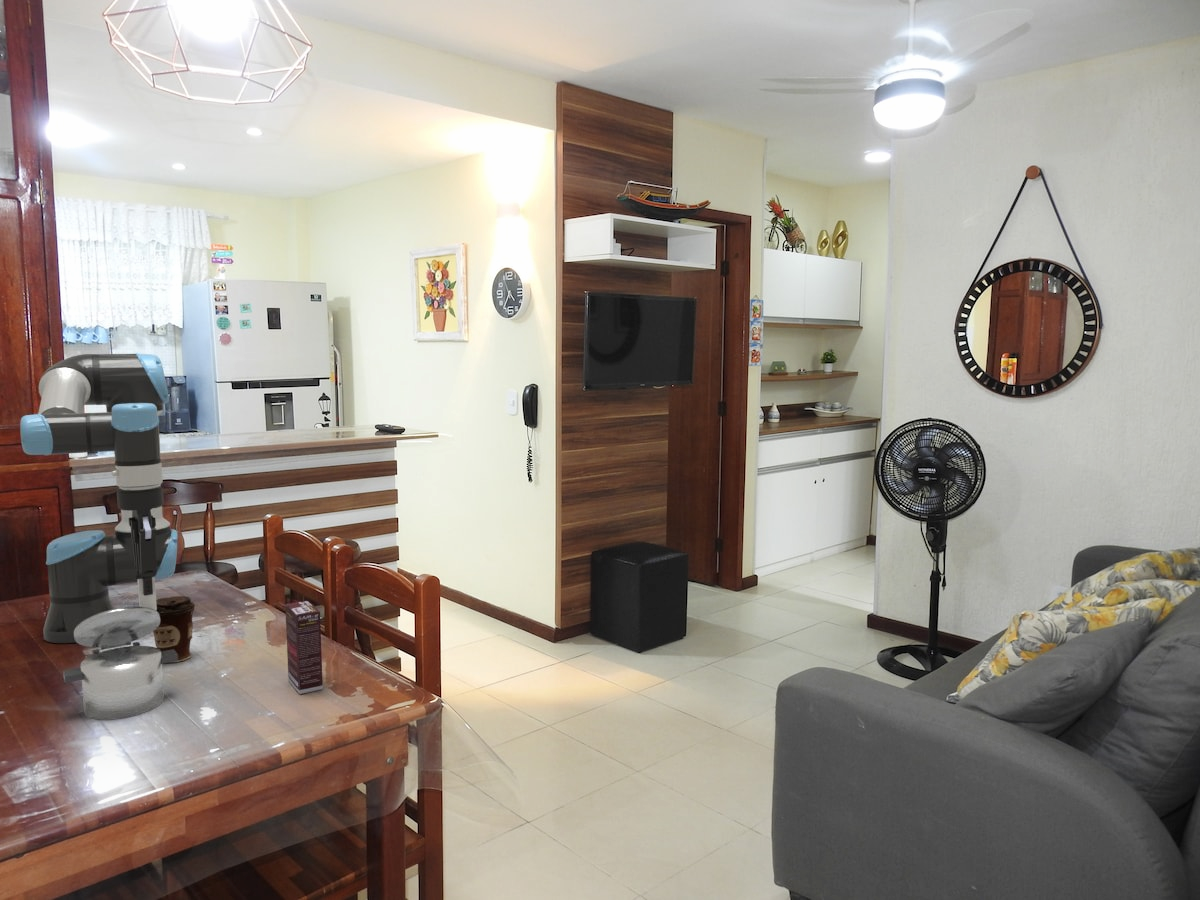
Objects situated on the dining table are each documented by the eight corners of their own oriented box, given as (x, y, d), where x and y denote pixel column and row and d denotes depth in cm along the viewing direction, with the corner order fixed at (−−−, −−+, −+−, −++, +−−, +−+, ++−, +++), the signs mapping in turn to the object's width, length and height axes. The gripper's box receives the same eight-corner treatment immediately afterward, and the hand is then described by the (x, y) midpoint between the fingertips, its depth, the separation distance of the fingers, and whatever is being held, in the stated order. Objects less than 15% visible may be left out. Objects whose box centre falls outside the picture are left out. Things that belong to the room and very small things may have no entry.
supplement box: (324, 689, 163) (321, 610, 162) (299, 695, 161) (295, 615, 159) (312, 675, 171) (308, 599, 169) (287, 680, 168) (283, 603, 166)
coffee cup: (177, 667, 175) (173, 607, 173) (142, 664, 176) (138, 604, 175) (205, 652, 183) (201, 595, 181) (171, 650, 185) (168, 592, 183)
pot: (63, 702, 157) (59, 656, 156) (170, 679, 168) (167, 636, 167) (71, 730, 146) (67, 680, 145) (185, 703, 157) (182, 657, 156)
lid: (73, 656, 157) (71, 639, 159) (156, 640, 166) (153, 624, 167) (75, 620, 147) (73, 603, 149) (164, 606, 155) (160, 589, 157)
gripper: (111, 484, 158) (120, 605, 161) (121, 493, 148) (130, 622, 151) (156, 480, 163) (163, 599, 165) (168, 489, 152) (176, 615, 155)
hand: (148, 610), depth 158 cm, fingers closed
